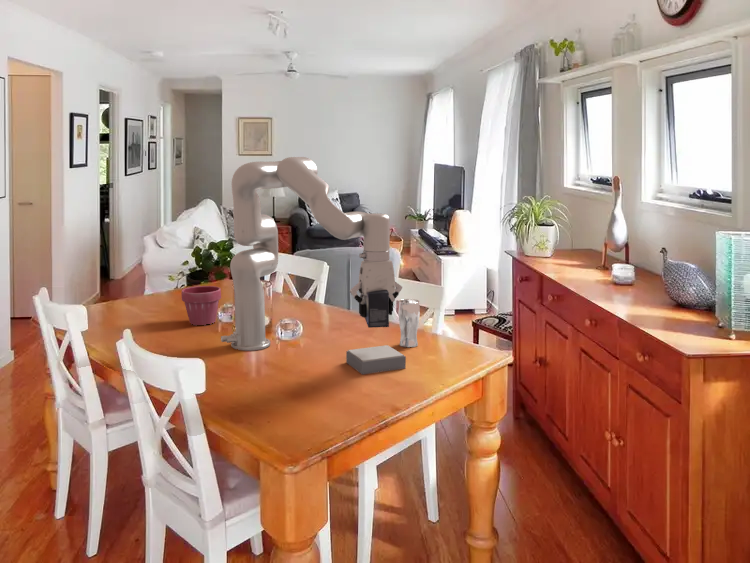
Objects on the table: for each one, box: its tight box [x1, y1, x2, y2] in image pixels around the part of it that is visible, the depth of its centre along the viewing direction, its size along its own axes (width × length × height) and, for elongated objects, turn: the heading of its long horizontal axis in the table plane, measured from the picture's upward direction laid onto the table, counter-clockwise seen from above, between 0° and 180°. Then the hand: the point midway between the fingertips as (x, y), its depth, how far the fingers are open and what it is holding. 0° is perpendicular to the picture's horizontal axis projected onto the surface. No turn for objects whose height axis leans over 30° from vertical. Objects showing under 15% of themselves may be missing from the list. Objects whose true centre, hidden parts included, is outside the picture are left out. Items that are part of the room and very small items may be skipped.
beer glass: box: [398, 298, 421, 349], centre depth 219 cm, size 7×7×15 cm
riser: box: [345, 344, 407, 375], centre depth 199 cm, size 14×12×4 cm
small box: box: [364, 290, 390, 329], centre depth 195 cm, size 11×6×10 cm, turn 7°
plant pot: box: [181, 285, 222, 326], centre depth 245 cm, size 14×14×13 cm
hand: (376, 314), depth 196 cm, fingers closed on small box, 7 cm apart
